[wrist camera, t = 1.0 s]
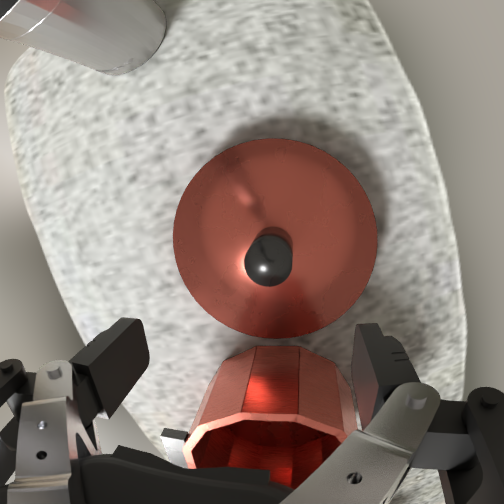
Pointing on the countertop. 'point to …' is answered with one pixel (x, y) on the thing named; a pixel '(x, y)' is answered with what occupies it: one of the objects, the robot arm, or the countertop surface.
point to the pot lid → (275, 238)
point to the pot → (268, 415)
